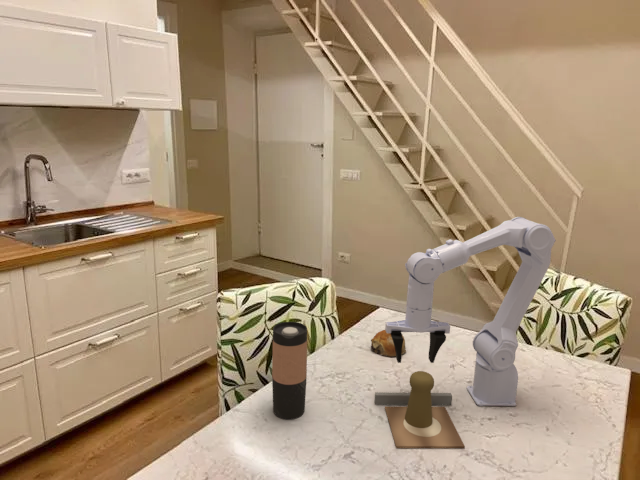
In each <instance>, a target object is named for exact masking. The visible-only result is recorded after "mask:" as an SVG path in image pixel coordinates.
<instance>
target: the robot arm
mask: <svg viewBox="0 0 640 480" xmlns="http://www.w3.org/2000/svg"><path fill="white" fill-rule="evenodd" d="M555 242H556V238H555V235H554V234H553V231H552V230H551V228H550V227H549V226H548V225H546V224H543V223H538V222H535V221H532V220H531V219H527V218H525V217H522V216H516V217H513V218H511V219H509V220H503V222H502V223H500V224H499V225H497V226H494V227H493V228H490V229H488V230H487V231H483V233H480V234H478V235H476V236H474V237H471V238H470V239H467V240H465V241H464V242H463V241H460V240H458V239H454V240H453V239H452V238H450V239H448V240H445V244H442V245H439V246H437V247H435V248H432V249H431V248H427V249H426V250H425V252H421V251H418V252H417V251H416V252H415V253H412V254H411V255H410V257H408V259H407V261H406V262H405V265H404V267H405V270H406V272H407V273H408V281H407V283H408V284H407V293H406V306H405V307H406V308H405V319H401V320H396V321H386V322H385V325H384V327H385V328H384V330H386V333H390V334H391V337H392V340H393V343H394V346H395V351H396V356H395V359H396V362H397V363H400V364H401V363H402V357H403V356H402V355H403V354H402V345H403V340H404V339H405V338H404V339H403V337H402V335H403V334H402V333H420V334H421V333H429V348H428V360H429V362H430V363H431V364H434V363H435V360H436V357H437V355H438V352H439V350H440V349H441V347H442V346H443V344H444V343H445V342H446V340H447V335H448V334H449V335H450V334H451V325H450V324H449V322H444V321H434V320H432V314H433V302H434V292H435V291H434V287H435V282H436V281H437V280H438V279H439V276H440V275H441V274H443V273H446V272H449V271H451V270H453V269H456V268H458V267H460V266H463V265H466V264H467V263H468V261H469V260H470V257H472V256H475V255H478V254H480V253H484V252H485V251H489V250H492V249H494V248H497V247H500V246H503V245H504V246H510V247H513V248H515V249H516V250H517V252H518V256H519V258H520V259H521V263H520V266H519V268H518V270H517V272H516V274H515V276H514V278H513V280H512V282H511V284H510V286H509V288H508V289H507V292H506V294H505V296H504V298H503V299H502V301H501V304H500V306H499V308H498V310H497V312H496V314H495V316H494V318H493V320H492V321H489V322H486V323H485V324H484V325H483V326H482V328H481V329H480V331H478V332H477V333H476V334H475V336H474V337H473V340H472V347H473V349H474V351H475V352H476V355H475V356H476V357H475V358H476V359H475V364H474V365H475V366H474V374H473V383H472V385H467V386H466V390H467V391H468V393H469V395H470V396H471V399H473V401H474V403H475V404H476V405H477V406H480V407H481V406H483V407H484V406H485V407H486V406H493V407H494V406H495V407H496V406H498V407H499V406H501V407H502V406H503V407H504V406H505V407H508V406H509V407H514V406H515V407H516V406H517V403H516V398H517V393H518V391H517V390H518V385H519V384H518V383H519V373H518V369H517V367H516V365H515V364H514V363H515V361H516V360H515V359H516V351H517V349H518V347H519V341H518V338H517V330H518V328H519V326H520V324H521V323H522V321H523V318H524V317H525V315H526V313H527V311H528V309H529V307H530V305H531V303H532V301H533V299H534V297H535V296H536V293H537V291H538V289H539V287H540V285H541V283H542V281H543V279H544V278H545V276H546V273H547V271H548V269H549V268H550V265H551V262H552V261H551V260H552V258H551V257H552V248H553V247H554V245H555ZM446 334H447V335H446Z"/></svg>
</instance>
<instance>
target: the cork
mask: <svg viewBox="0 0 640 480" xmlns="http://www.w3.org/2000/svg"><path fill="white" fill-rule="evenodd" d="M409 386H410V388H411V389H410V392H409V393H410V397H409V401H408V405H406V407H407V410H406V414H405V421H406V422H407V423H408V424H409V425H411V426H413V427H417V428H427V427H429V426H431V425H432V407H433V405H432V402H431V393H432V390H433V388H434V386H435V379H434V377H433V375H432V374H430V373H429V372H427V371H423V370H418V371H414V372H413V373H412V374H410V377H409Z"/></svg>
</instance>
